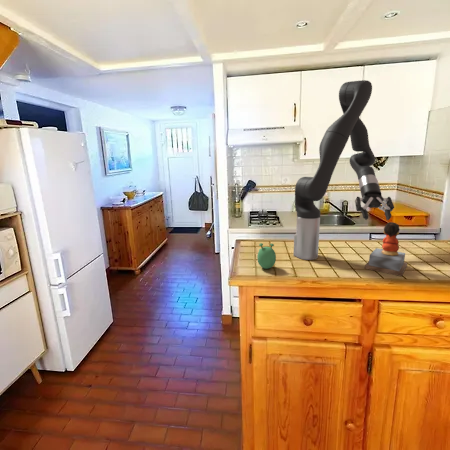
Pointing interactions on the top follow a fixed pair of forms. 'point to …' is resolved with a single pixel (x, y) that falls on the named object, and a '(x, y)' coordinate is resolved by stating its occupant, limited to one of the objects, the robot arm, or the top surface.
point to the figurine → (390, 239)
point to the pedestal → (387, 262)
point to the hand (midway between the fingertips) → (377, 218)
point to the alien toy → (266, 256)
